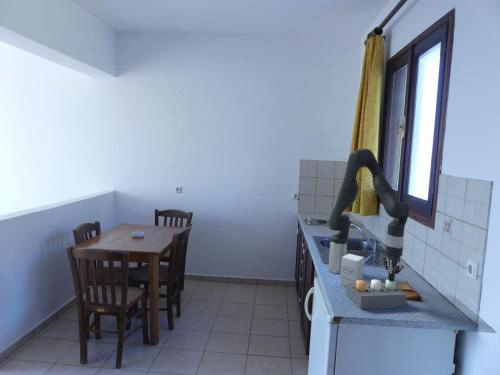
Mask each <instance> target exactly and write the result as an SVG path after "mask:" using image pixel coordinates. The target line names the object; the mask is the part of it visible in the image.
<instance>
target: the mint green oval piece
mask: <svg viewBox="0 0 500 375" xmlns="http://www.w3.org/2000/svg"><path fill="white" fill-rule="evenodd" d="M385 283H386V284H385V289H386V290H388V291H396V285H397V280H396V279H394V281H389V280H388V278H387V279H386V280H385Z"/></svg>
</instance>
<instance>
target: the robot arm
mask: <svg viewBox="0 0 500 375" xmlns="http://www.w3.org/2000/svg"><path fill="white" fill-rule="evenodd" d="M346 163H347V165H346V169H345V173H344V176H343V180H342V183H341V186H340V189H339V192H338V196H337V200H336V202H335V205H334V206H333V209H332V211H331V213H330V216H329V218H328V227H329V229H330V231H338V232H337V233H335V234H332V235H331V236H330V243H329V244H330V245H329V255H328V256H329V257H328V268H327V270H328V271H329V272H330V273H333V274H338V275H339V274H341V261H342V257H343V256H345V255H347V250H348V249H347V248H348V246H347V245H348V240H349V234H350V226H351V220H350V216H349V215H348V214H343V213H344V211H345V210H347V209H348V208H349V207H350V206H352V205H353V204H354V202H355V201H356V200H357V196H358V194H359V191H360V190H359V189H360V188H359V187H360V186H359V183H358V180H357V176H358V173H359V171H360V169H363V168H367V169H368V171H369V172H370V174H371V178H372V186H373V189H374V191H375V193H376V194H377V196H378V197H379V199H380V200H381V203H382V206H383V208H384V211H385V213H386V214H387V215H388V216H389V217H390V218H393V219H392V220H391V221H390V222H389V223H388V224H387V231H386V232H387V233H386V237H385V248H384V254H385V255H386V256H385V257H383V258H382V259H383V263H384V267H385V270H386V271H387V273H388V276H387V277H388V278H387V279H388V280H389V281H394V280H395V277H396V276H395V275H396V274H397V275H398V274H399V273H400V272H401V271H402V269H403V268H404V266H403V265H402V264H401V257H402V256H403V252H404V239H405V238H404V236H405V227H406V224H407V221H408V218H409V214H410V208H409V205H408V204H407V203H406V202H404V201H396V199H395V198H396V194H397V193H396V191H395V190H394V188H393V187H392V186H391V184H390V183H389V182H388V180H387V179H386V177H385V175H384V172H383V171H382V169H381V167H380V164H379V162H378V160H377V158H376V156H375V155H374V152H373V151H372V150H371V149H369V148H360V149H359V148H358V149H354V150H352V151H351V152H350V154H349V156H348V159H347V162H346Z"/></svg>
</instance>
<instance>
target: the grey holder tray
mask: <svg viewBox="0 0 500 375" xmlns="http://www.w3.org/2000/svg"><path fill="white" fill-rule="evenodd" d="M385 284H386V282H382V285H381V291H372V290H371V282H367V286H366V292H358V291H357V290H356V283H355V284H347V287H346V290H345V296H346V297H347V298H348V299H349V300H350V301H351V302H352V303H353V304H354V305H355V306H357V308H358V309H359V310H366V309H367V310H369V309H393V308H406V303H407V302H406V301H407V300H406V294H405V293H403V292H402V291H401V290H399V289H398V288H396V291H388V290H386V289H385Z"/></svg>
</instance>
